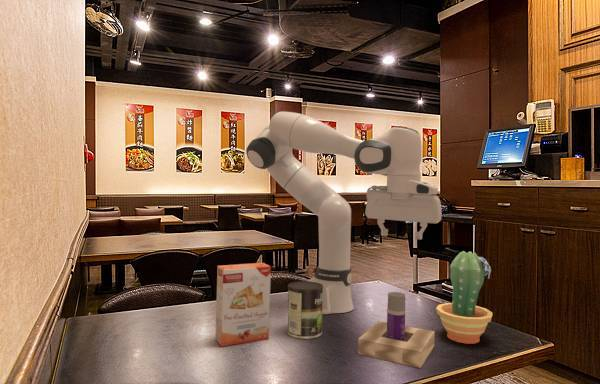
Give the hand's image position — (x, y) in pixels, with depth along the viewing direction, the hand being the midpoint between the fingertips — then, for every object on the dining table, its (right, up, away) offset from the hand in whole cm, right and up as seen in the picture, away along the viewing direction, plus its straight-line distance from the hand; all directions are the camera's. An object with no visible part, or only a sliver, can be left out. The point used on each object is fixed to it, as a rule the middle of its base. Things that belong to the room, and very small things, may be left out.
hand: (401, 237), depth 113 cm
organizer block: (-2, -30, -3) cm, 30 cm away
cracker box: (-44, -29, +2) cm, 52 cm away
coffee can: (-26, -29, +9) cm, 40 cm away
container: (-2, -30, -3) cm, 30 cm away
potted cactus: (+20, -30, +7) cm, 37 cm away
